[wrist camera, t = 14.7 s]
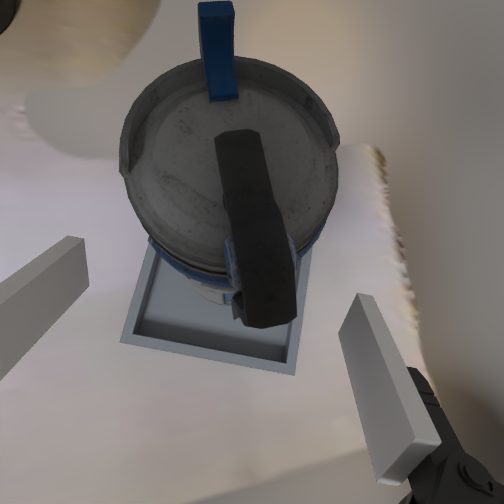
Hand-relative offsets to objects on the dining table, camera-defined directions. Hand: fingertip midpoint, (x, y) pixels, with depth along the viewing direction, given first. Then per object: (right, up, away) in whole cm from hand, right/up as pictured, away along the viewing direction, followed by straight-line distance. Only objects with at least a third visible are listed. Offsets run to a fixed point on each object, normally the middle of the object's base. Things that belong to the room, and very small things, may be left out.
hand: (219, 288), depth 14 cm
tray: (-1, 0, +21) cm, 21 cm away
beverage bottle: (-1, 0, +20) cm, 20 cm away
